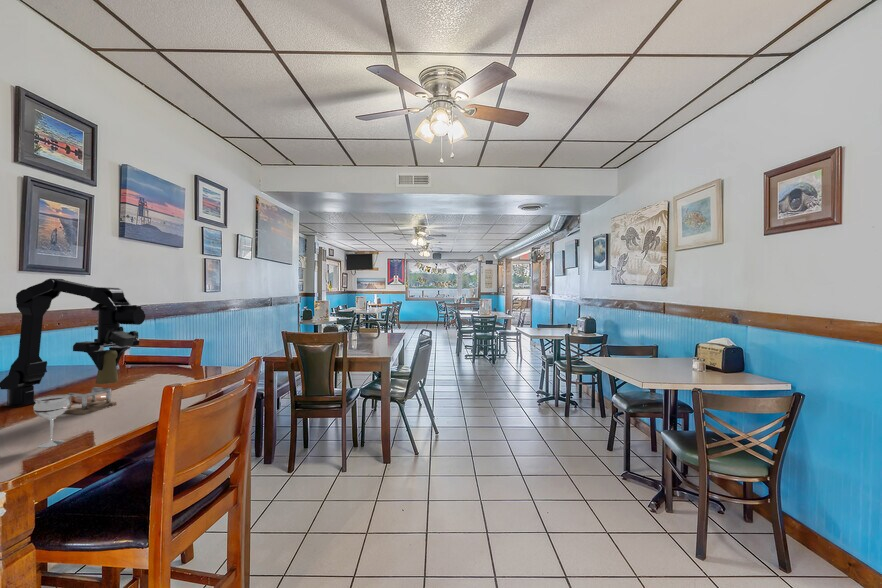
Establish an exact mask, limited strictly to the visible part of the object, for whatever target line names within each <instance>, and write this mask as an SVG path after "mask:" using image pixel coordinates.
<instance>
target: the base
mask: <svg viewBox="0 0 882 588" xmlns="http://www.w3.org/2000/svg"><path fill="white" fill-rule="evenodd" d="M113 405H114V406H117V401H111V403H106V400H103V401H96V402H91V401H90V402H87V410H82V407H75V406H71V408H70V409H68V410H66V411H65V412H64V413H63V414H74V415H86V413H87V414H90V413H93V412H96V410H97V411H100V410H104V409H106V407H107V408H110V407H109V406H111V407H114V406H113ZM103 408H104V409H103Z"/></svg>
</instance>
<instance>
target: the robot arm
mask: <svg viewBox="0 0 882 588" xmlns="http://www.w3.org/2000/svg"><path fill="white" fill-rule="evenodd" d="M61 293H66V294H70V295H76V296H80V297H84V298H87V299H89V300H91V301H92V302H94V303H97V304H96V305H95V306H94V307H92V308H91V311H97V312H98V316H97V326H94V331H97V338H94V339H93V341H79V342H75V343H73V346H72V352H80V353H81V352H82V353H86V354H87V355H88V356H89V357H90V359H91V360H92V362H93V363H94V365H95V367H96V368H97V371H98V370H102V369H103V359H104V354H105V353H106V352H107V351H106V350H107V349H106V350H105V349H104V348H107V347H108V350H115V351H117V353H118V356H117V358H116V367H117V366H118V364H119V362H120V360H121V358H122V356H123V354H124V353H125V352H126V351H127V350H129V349H131V347H135V346H140V339H139V332H138V331H136V330H132V331H131V330H130V331H126V332H125V331H124V326H120V325H129V326H130V325H132V326H133V325H135V326H136V325H139V326H140V325H141V324H143V323H144V321H145V320H146V313H145V311H144V309H142V305H141V304H138V305H137V304H133V305H132V304H131V303H130V301H129V299H128V298H127V297H126V295H125V293H124V290H123V289H121V288H119V287H102V286H101V287H100V286H93V285H88V284H83V283H80V282H75V281H69V280H65V279H63V278H50V277H49V278H48V279H45V280H44V281H42V282H40V283H37V284H35V285H32V286H31V285H30V286H29V287H27V288H25V289H21V290H20V291H19V292H17V293H16V295H15V301H16V308H17V310H18V311H19V312H20V314H21V326H20V335H19V345H18V356H17V358H16V359H15V360H14V362H12V364H11V365H10V368H9V372H8V374H7V375H6V376H5V377H4V378H3V379H2V380H1V381H0V390H6V392H7V397H6V403H3V404H1V405H0V406H1V407H8V408H19V407H25V406H28V405H33V404H36V402H35V401H34V399H35V386H34V385H40V384H41V382H42V379H43V378H44V377H45V374H46V373H48V371H47V366H48V361H47V360H43V359H42V358H41V357H40V352H41V351H40V350H41V340H42V330H43V329H42V328H43V319H44V315H45V314H46V312H47V311H48V310H49V309H50V308H51V303H52V300H54V299H56V298H58V297H59V296H60V295H61ZM117 368H118V367H117Z"/></svg>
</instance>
